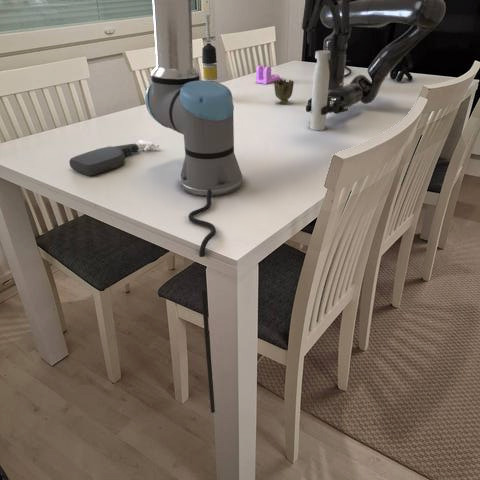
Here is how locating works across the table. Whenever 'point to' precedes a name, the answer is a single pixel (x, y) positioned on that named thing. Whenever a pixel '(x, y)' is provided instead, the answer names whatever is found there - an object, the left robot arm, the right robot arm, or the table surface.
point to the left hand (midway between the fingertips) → (322, 56)
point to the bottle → (319, 94)
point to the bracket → (265, 75)
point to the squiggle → (404, 70)
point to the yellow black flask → (209, 57)
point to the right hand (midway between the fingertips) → (314, 110)
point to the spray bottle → (106, 157)
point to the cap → (323, 54)
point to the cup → (283, 90)
